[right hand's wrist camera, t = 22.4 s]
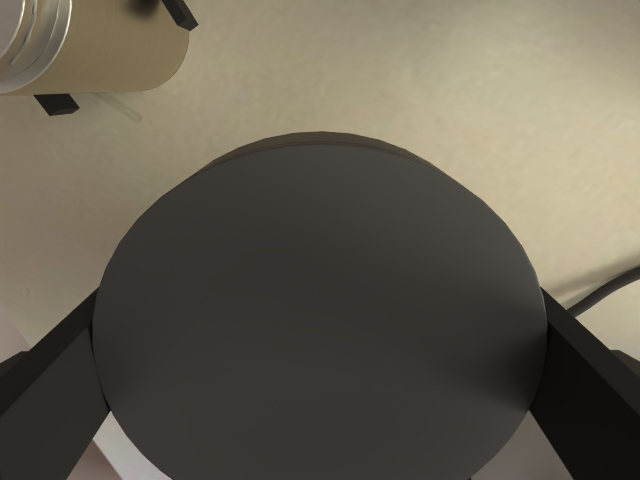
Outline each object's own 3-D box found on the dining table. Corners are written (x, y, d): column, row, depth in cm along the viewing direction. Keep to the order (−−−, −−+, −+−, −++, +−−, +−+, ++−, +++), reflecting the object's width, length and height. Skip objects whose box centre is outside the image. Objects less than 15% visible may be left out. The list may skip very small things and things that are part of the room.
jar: (213, 51, 33) (95, 13, 16) (116, 113, 35) (-90, 143, 17) (136, -81, 30) (-122, -316, 12) (33, -5, 32) (-323, -117, 14)
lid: (160, 75, 10) (113, 73, 8) (574, 196, 11) (639, 224, 9) (115, 419, 14) (76, 484, 12) (426, 483, 15) (445, 554, 13)
